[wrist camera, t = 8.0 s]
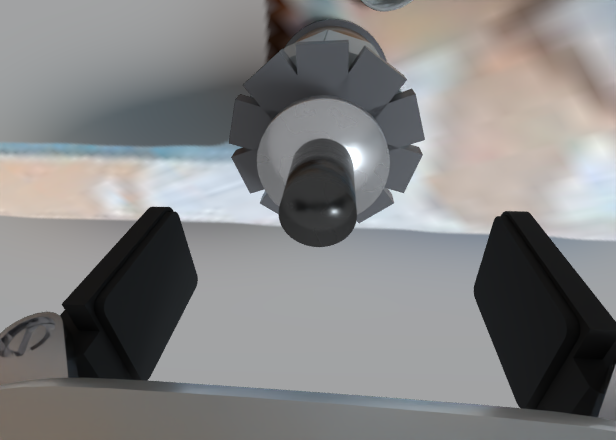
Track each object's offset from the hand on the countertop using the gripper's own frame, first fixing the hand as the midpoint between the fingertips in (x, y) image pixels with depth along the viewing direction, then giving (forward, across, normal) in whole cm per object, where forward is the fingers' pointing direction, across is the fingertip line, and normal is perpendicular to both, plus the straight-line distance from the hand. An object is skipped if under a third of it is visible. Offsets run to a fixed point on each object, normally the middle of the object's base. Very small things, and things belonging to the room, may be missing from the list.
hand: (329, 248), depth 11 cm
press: (+23, +1, 0) cm, 23 cm away
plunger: (+15, +1, 0) cm, 15 cm away
